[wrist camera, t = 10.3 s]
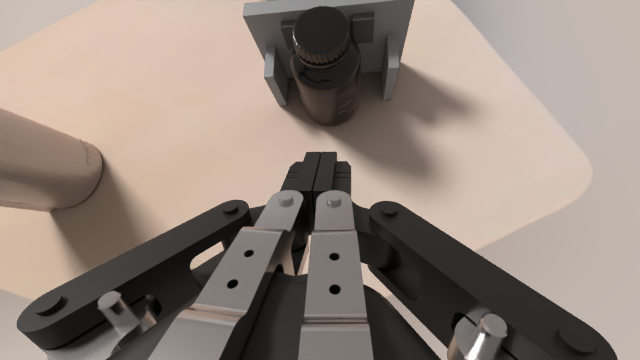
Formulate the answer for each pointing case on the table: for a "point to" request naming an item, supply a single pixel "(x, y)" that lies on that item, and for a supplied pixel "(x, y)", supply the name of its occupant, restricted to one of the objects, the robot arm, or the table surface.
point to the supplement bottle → (326, 65)
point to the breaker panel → (365, 27)
